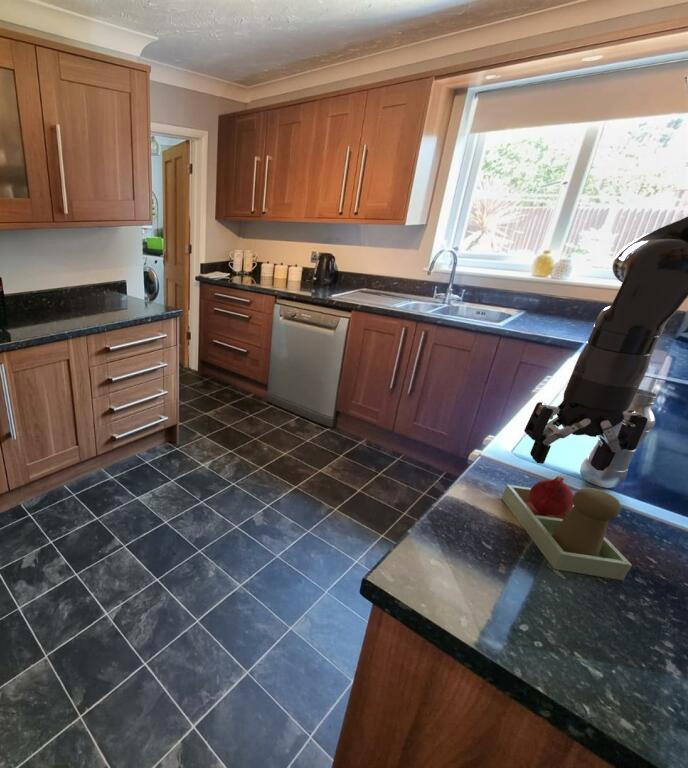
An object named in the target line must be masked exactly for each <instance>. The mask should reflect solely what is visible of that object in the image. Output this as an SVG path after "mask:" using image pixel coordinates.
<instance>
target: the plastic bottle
mask: <svg viewBox="0 0 688 768" xmlns="http://www.w3.org/2000/svg"><path fill="white" fill-rule="evenodd" d="M657 398H658V394H657V393H655V392H653V391H650V390H646V389H643V388H638V390H637V392H636V394H635V396H634V398H633V400H632V403H631V405H630V407H629V409H628V410H626V411H624V412H628V411H630V410H634V411H636V412H638V413H640V414H641V415H643V416H644V417H646V418H647V419H648V421H647V423H646V425H645V428H644V430H643V433H642V435H641V437H640V440H639V442H638V444H637V447H636V449H634V450H632V451H629V450H627V449H624V450H620V451H619V452H616V453H615V456H614V458H613V460H612V462H611V464H610V466H608V467H607V468H605V470H604V471H600V470H596V469H595V468H594V467H593V466H592V465H591V460H592V458H593V456H594V454H595V452H596V450H597V447H598V445H602V443H601V441H600V439H599V438H598V440H597V442H596V444H595V445H594V446H593V448H592V450H591V451H590V453H589V454H588V455H587V457H585V459H584V460H583V462H581V464H580V469H579V473H580V477H581V478H582V479H584V480H585V481H586V482H588V483H590V484H593V485H595V486H598V487H601V488H604V489H605V488H606V489H614V488H617V487H619V486H621V485H622V484H623V483H624V481H625V480H626V479H627V475H628V473H629V472H628V471H629V467H630V465H631V461H632V459H633V458H634V454H635V453H636V451H637V449H638V448H639V446H640V445H641V443H642V442H643V440H644V439H645V438H646V437H647V435H648V434H649V433H650V432H651V431H652V430H653V428H654V426H655V425H656V417H655V414H654V412H653V410H652V408H651V406H652V407H653V406H654V405H655V404H656V400H657ZM621 426H622V422H621V423H619V424H617V425H616V426H614V427H613V428H612V429H613V430H614V432H615V434H616V436H618V433H619V431H620V428H621Z"/></svg>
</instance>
